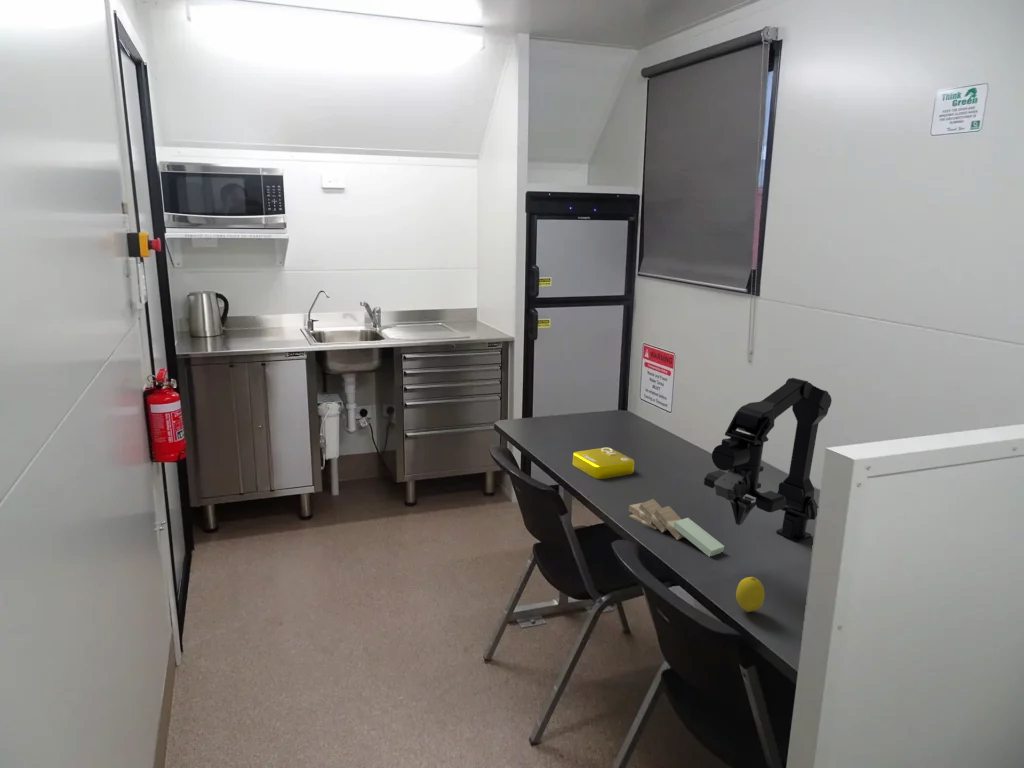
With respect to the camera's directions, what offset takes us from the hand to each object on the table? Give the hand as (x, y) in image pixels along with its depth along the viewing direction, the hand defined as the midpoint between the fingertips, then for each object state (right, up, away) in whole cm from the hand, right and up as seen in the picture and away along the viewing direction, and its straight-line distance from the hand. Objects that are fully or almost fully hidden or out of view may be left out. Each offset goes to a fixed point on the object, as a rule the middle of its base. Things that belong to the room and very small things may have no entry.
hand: (738, 524), depth 165 cm
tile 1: (-9, -6, +14) cm, 18 cm away
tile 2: (-12, -4, +17) cm, 22 cm away
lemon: (-4, -15, -18) cm, 23 cm away
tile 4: (-14, -5, +20) cm, 25 cm away
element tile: (-24, +5, +60) cm, 65 cm away
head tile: (-3, -8, +6) cm, 10 cm away
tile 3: (-15, -3, +21) cm, 25 cm away
